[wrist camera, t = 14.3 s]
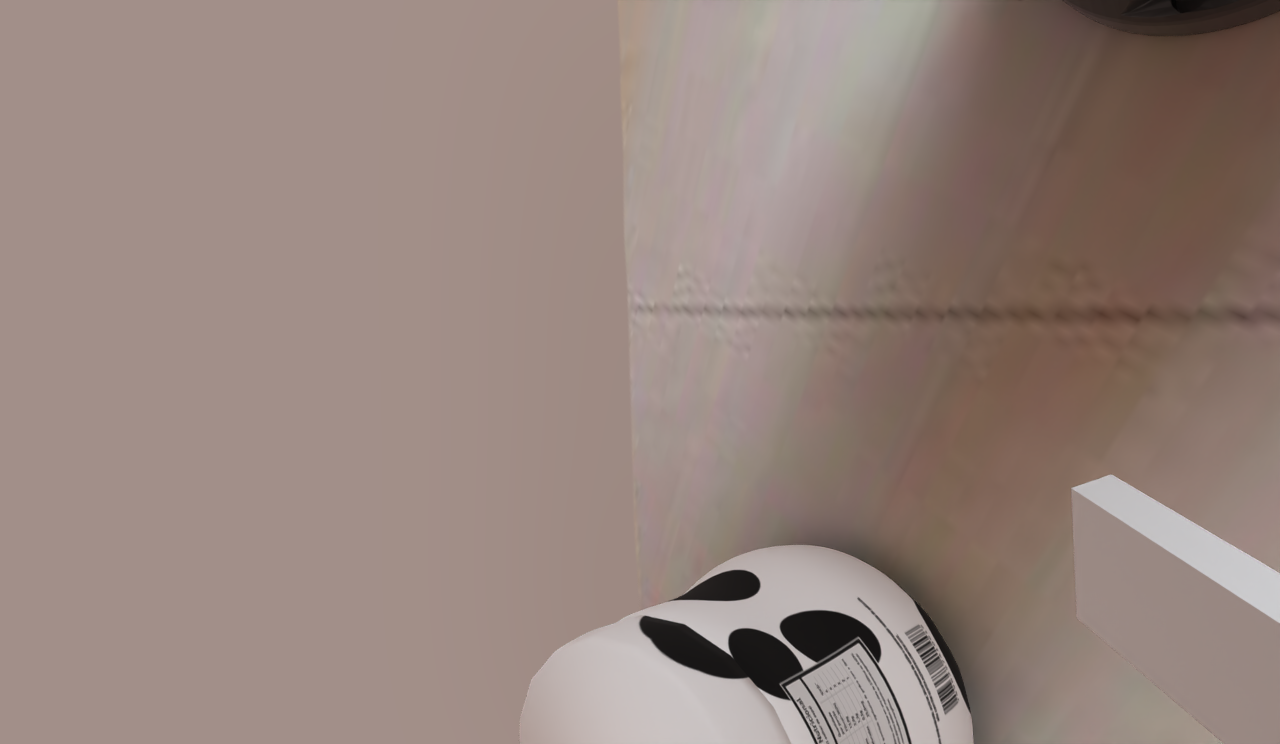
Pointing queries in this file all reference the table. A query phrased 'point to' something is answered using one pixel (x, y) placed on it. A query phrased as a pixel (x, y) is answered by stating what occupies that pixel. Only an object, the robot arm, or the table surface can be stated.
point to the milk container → (759, 664)
